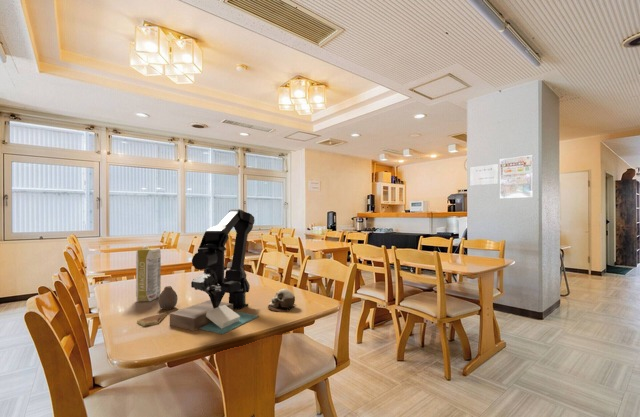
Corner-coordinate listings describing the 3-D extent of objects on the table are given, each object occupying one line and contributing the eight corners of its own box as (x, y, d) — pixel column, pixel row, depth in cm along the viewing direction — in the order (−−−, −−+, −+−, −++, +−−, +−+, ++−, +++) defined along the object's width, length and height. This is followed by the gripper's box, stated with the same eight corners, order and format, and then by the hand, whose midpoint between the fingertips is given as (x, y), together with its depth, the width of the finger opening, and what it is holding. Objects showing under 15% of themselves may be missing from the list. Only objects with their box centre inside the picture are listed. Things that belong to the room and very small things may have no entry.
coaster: (223, 309, 109) (224, 304, 109) (238, 321, 106) (240, 316, 105) (205, 316, 102) (207, 311, 102) (221, 328, 99) (223, 323, 98)
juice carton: (146, 296, 140) (146, 244, 140) (162, 296, 140) (163, 244, 140) (133, 302, 131) (133, 247, 131) (150, 302, 130) (151, 247, 131)
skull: (260, 308, 118) (269, 285, 125) (271, 319, 125) (278, 297, 131) (287, 310, 114) (295, 286, 120) (297, 322, 120) (303, 298, 127)
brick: (210, 309, 119) (210, 299, 120) (233, 314, 114) (233, 303, 114) (169, 325, 103) (169, 313, 103) (194, 330, 98) (194, 318, 98)
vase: (167, 312, 117) (167, 289, 117) (154, 310, 120) (154, 288, 120) (181, 306, 124) (181, 285, 124) (168, 305, 126) (168, 284, 126)
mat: (237, 312, 116) (237, 311, 116) (258, 316, 111) (258, 315, 111) (200, 329, 100) (200, 327, 100) (222, 334, 95) (222, 333, 95)
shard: (167, 315, 114) (167, 311, 114) (177, 319, 110) (177, 314, 110) (136, 324, 106) (136, 319, 106) (145, 329, 101) (145, 323, 101)
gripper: (178, 266, 103) (178, 311, 103) (217, 270, 95) (217, 320, 94) (204, 261, 113) (203, 303, 113) (242, 265, 105) (242, 310, 104)
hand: (215, 308), depth 106 cm, fingers closed
